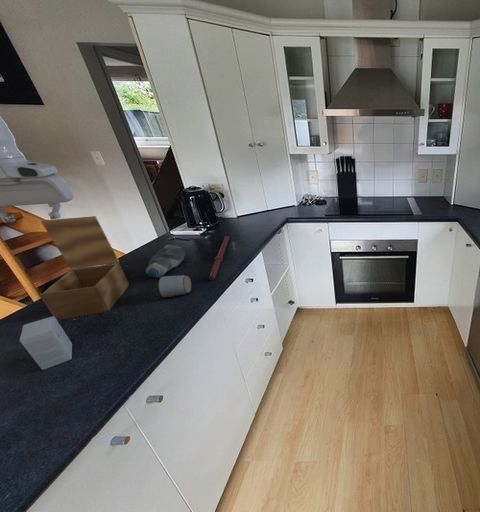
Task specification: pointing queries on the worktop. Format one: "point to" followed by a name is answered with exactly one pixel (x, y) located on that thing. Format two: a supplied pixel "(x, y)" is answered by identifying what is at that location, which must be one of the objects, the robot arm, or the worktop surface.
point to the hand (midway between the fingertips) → (33, 220)
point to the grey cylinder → (174, 285)
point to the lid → (81, 241)
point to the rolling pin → (219, 258)
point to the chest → (85, 291)
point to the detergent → (165, 260)
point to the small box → (46, 342)
